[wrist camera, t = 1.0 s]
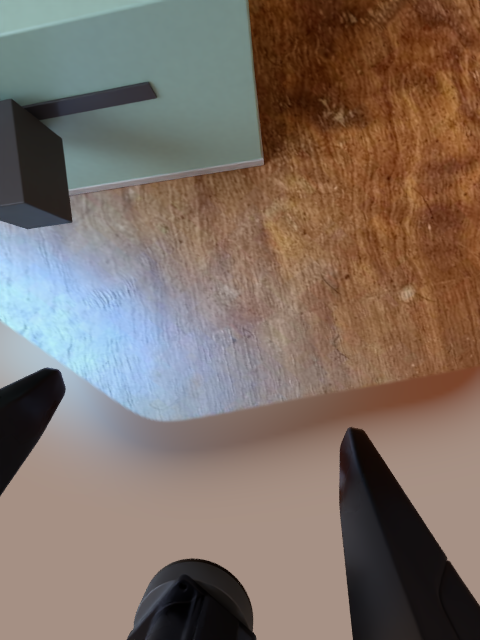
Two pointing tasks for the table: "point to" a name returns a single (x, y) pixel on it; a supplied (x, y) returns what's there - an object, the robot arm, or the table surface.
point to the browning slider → (31, 171)
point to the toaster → (135, 85)
